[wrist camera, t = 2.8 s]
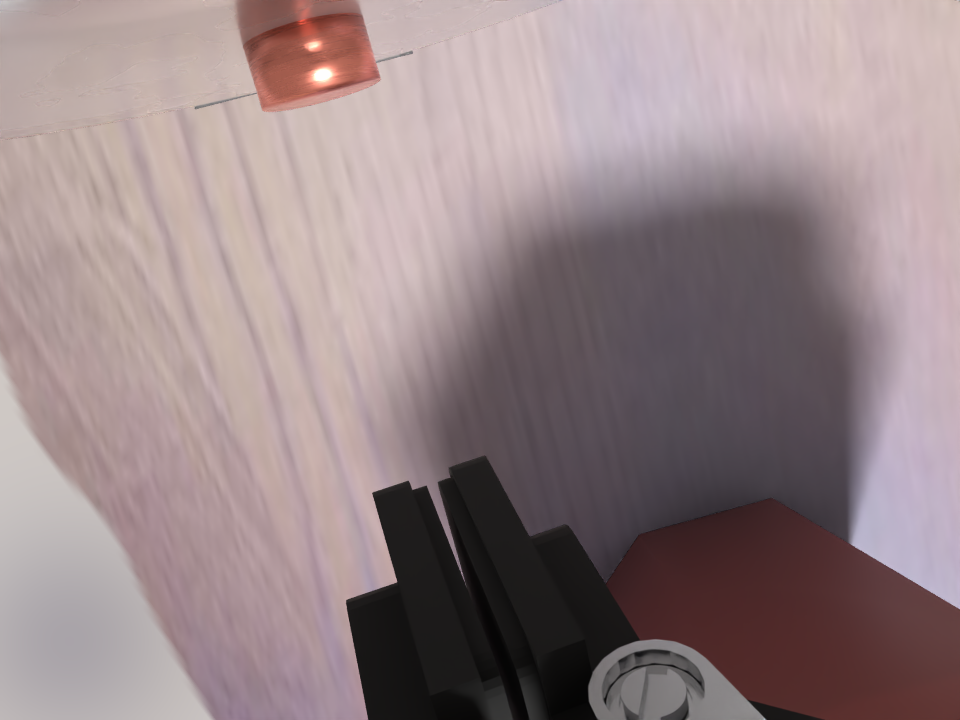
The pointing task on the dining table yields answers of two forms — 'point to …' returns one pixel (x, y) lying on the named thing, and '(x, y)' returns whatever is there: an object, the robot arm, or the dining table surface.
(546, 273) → the dining table surface
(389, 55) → the cooker lid
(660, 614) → the bucket
